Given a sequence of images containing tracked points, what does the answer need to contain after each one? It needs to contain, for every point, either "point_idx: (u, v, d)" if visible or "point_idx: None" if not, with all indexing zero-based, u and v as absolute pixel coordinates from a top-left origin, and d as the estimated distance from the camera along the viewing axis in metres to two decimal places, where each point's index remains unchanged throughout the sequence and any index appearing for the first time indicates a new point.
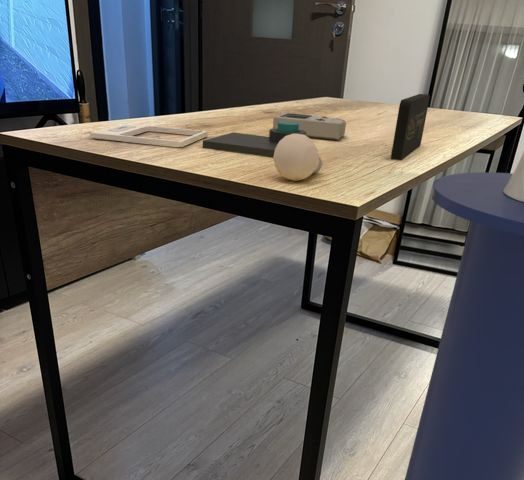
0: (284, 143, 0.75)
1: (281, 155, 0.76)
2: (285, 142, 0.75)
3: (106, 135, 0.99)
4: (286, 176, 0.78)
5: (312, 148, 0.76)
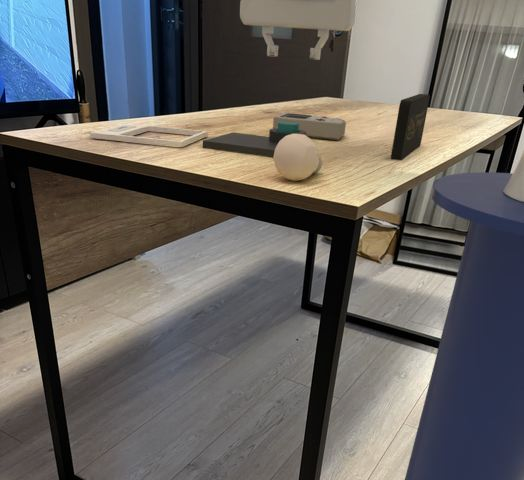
0: (284, 143, 0.75)
1: (281, 155, 0.76)
2: (285, 142, 0.75)
3: (106, 135, 0.99)
4: (286, 176, 0.78)
5: (312, 148, 0.76)
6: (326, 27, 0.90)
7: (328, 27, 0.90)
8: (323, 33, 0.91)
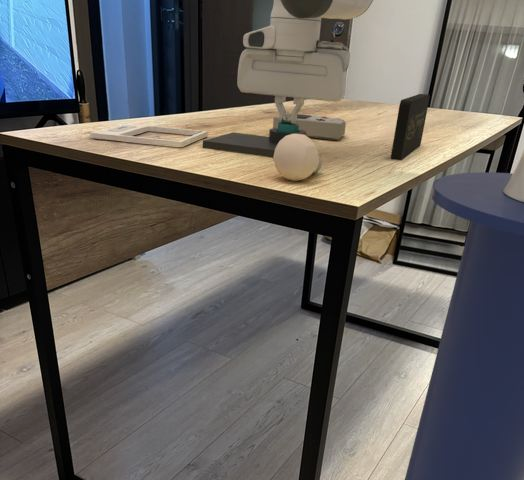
0: (284, 143, 0.75)
1: (281, 155, 0.76)
2: (285, 142, 0.75)
3: (106, 135, 0.99)
4: (286, 176, 0.78)
5: (312, 148, 0.76)
6: (318, 98, 0.96)
7: (320, 98, 0.95)
8: (298, 101, 0.98)
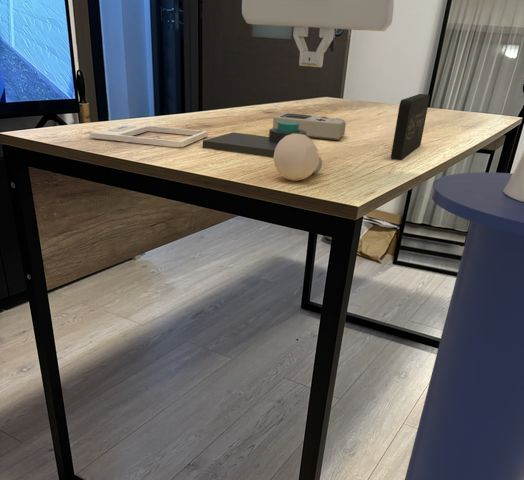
0: (284, 143, 0.75)
1: (281, 155, 0.76)
2: (285, 142, 0.75)
3: (106, 135, 0.99)
4: (286, 176, 0.78)
5: (312, 148, 0.76)
6: (355, 26, 0.68)
7: (358, 26, 0.68)
8: (326, 33, 0.71)
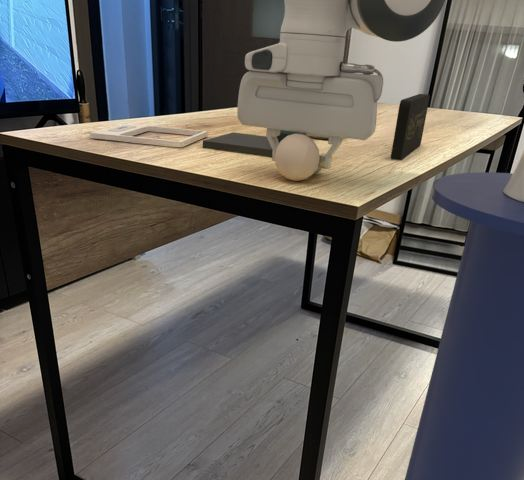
0: (285, 143, 0.75)
1: (282, 155, 0.76)
2: (287, 142, 0.75)
3: (106, 135, 0.99)
4: (287, 176, 0.78)
5: (313, 149, 0.76)
6: (341, 135, 0.74)
7: (344, 136, 0.74)
8: (335, 141, 0.76)
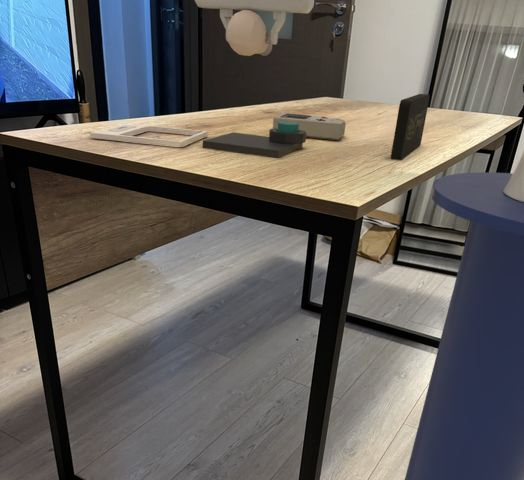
0: (234, 17, 0.85)
1: (232, 28, 0.86)
2: (236, 16, 0.85)
3: (106, 135, 0.99)
4: (238, 49, 0.88)
5: (259, 22, 0.86)
6: (283, 9, 0.85)
7: (285, 9, 0.84)
8: (279, 15, 0.86)
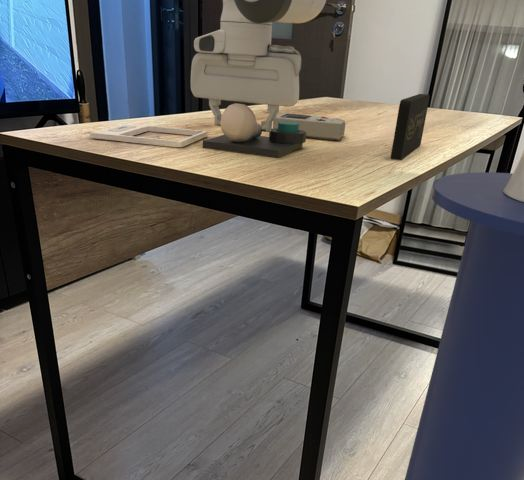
0: (227, 110, 0.95)
1: (225, 120, 0.95)
2: (228, 110, 0.95)
3: (106, 135, 0.99)
4: (230, 138, 0.97)
5: (250, 115, 0.95)
6: (271, 103, 0.94)
7: (273, 103, 0.94)
8: (272, 108, 0.95)
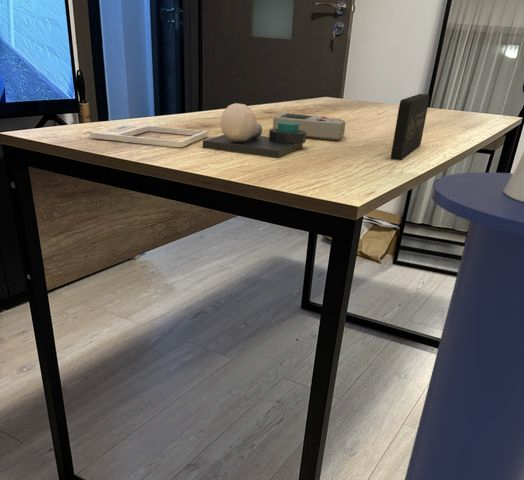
0: (227, 110, 0.95)
1: (225, 120, 0.95)
2: (228, 110, 0.95)
3: (106, 135, 0.99)
4: (230, 138, 0.97)
5: (250, 115, 0.95)
6: None
7: None
8: None
